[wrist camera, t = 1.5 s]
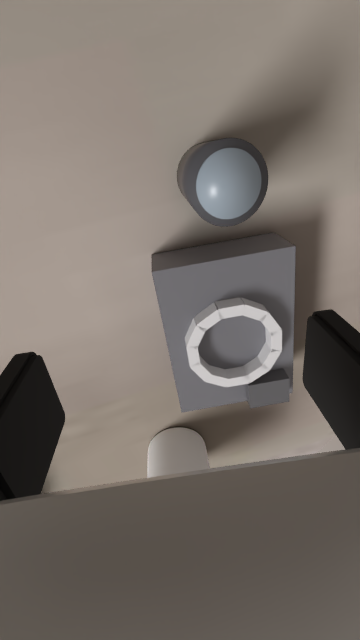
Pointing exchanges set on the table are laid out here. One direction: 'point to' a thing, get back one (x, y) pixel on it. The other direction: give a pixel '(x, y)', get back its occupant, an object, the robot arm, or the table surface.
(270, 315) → the camera body
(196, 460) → the pill bottle
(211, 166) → the lens
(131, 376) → the table surface
